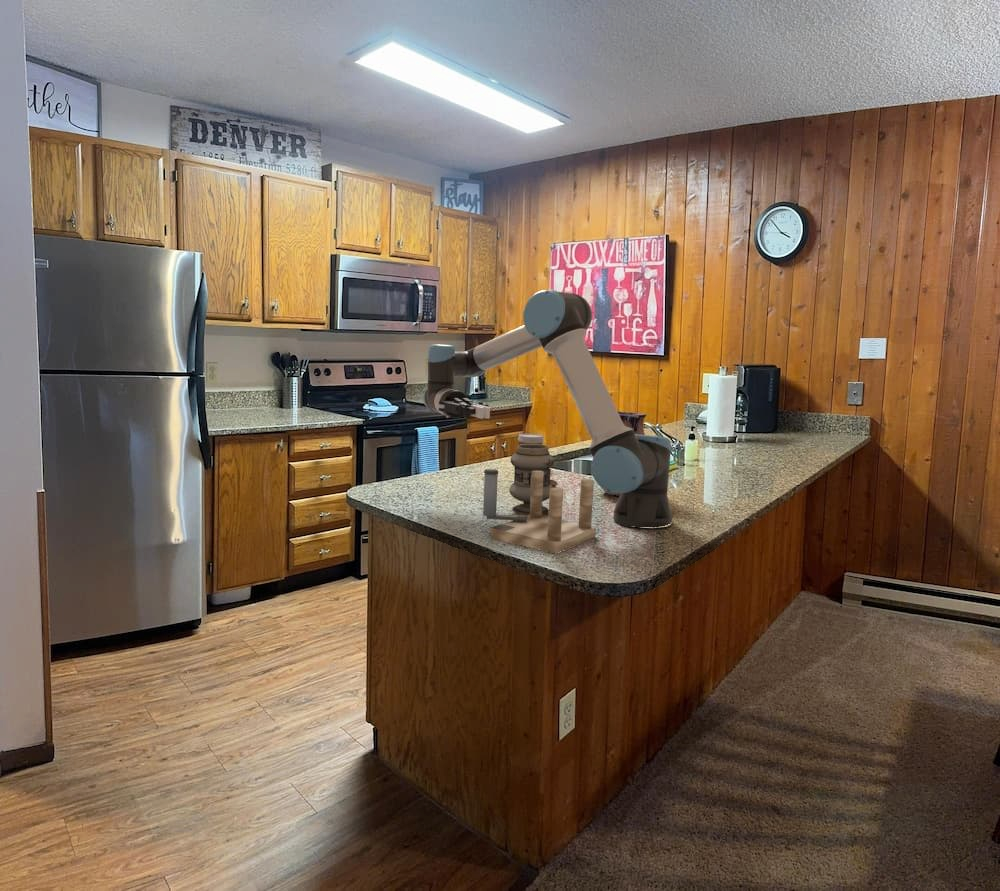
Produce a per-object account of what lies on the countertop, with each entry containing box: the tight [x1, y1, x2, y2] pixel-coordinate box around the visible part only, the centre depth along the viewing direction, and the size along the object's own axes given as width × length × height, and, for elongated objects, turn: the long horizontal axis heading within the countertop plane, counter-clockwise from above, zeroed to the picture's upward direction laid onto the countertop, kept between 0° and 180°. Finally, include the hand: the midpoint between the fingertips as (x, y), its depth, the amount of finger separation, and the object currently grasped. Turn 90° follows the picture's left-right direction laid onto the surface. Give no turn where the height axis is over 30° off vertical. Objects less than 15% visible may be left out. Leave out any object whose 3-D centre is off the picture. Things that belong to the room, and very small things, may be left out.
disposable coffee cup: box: [517, 433, 545, 445], centre depth 254 cm, size 10×10×12 cm
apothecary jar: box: [508, 444, 555, 516], centre depth 192 cm, size 12×12×18 cm
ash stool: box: [490, 470, 597, 554], centre depth 167 cm, size 18×18×14 cm
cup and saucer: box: [549, 467, 558, 488], centre depth 224 cm, size 12×12×6 cm
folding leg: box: [482, 468, 528, 521], centre depth 172 cm, size 11×3×12 cm, turn 84°
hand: (485, 413), depth 174 cm, fingers closed
